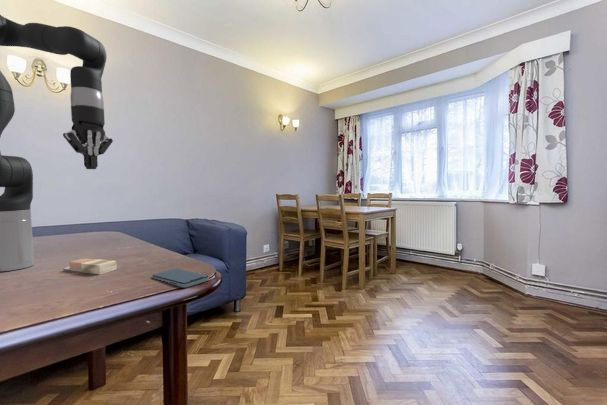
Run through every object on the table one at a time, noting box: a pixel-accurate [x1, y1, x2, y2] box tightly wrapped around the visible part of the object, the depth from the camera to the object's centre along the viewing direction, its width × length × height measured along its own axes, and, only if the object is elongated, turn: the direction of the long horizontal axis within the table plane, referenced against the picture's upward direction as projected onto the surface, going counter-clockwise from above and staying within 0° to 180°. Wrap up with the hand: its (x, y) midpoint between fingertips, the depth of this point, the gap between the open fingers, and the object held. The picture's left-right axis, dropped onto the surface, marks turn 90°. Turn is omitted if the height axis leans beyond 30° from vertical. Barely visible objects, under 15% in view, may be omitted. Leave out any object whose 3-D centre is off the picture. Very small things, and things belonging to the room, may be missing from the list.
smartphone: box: [152, 268, 210, 289], centre depth 76 cm, size 8×2×15 cm
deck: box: [81, 258, 118, 275], centre depth 84 cm, size 7×5×2 cm
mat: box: [63, 266, 83, 273], centre depth 86 cm, size 8×4×1 cm, turn 72°
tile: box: [69, 258, 95, 270], centre depth 86 cm, size 5×4×2 cm
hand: (91, 169), depth 84 cm, fingers closed
